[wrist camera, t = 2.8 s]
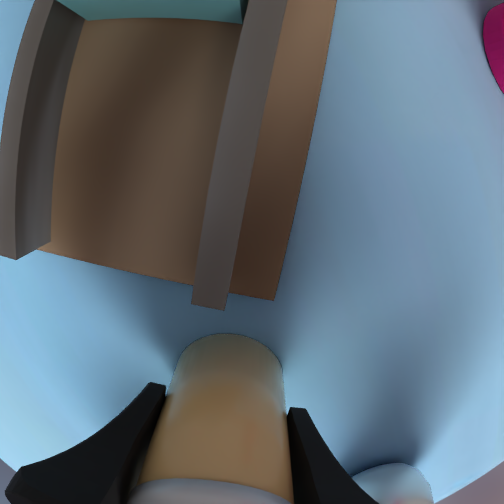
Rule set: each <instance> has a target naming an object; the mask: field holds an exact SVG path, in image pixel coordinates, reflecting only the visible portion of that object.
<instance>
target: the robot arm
mask: <svg viewBox="0 0 504 504" xmlns="http://www.w3.org/2000/svg"><path fill="white" fill-rule="evenodd" d="M165 393H166V386H165V385H161V384H157V383H153V382H150V383H148V384H147V386H146V387H145V388H144V389H143V390H142V391H141V393H140V394H139V395H138V396H137V397H136V398H135V399H134V400H133V401H132V402H131V403H130V404H129V405H128V406H127V407H126V408H125V409H124V410H123V411H122V412H121V413H120V414H119V415H118V416H117V417H115V418H114V419H113V420H112V421H111V422H109V423H108V424H107V425H106V426H104V427H103V428H102V429H101V430H99V431H98V432H96V433H95V434H94V435H92V436H91V437H89V438H88V439H86V440H84V441H83V442H81V443H79V444H77V445H76V446H74V447H72V448H70V449H68V450H66V451H64V452H62V453H59V454H57V455H55V456H53V457H50V458H48V459H45V460H42V461H39V462H36V463H33V464H29V465H26V466H22V467H21V468H20V469H19V470H18V471H17V473H16V474H15V475H14V477H13V478H12V480H11V481H10V483H9V485H8V486H7V488H6V490H5V495H6V497H7V499H8V500H9V502H10V503H11V504H127V501H128V498H129V495H130V492H131V491H132V489H133V488H135V487H136V484H137V481H138V478H139V475H140V472H141V469H142V466H143V462H144V459H145V456H146V453H147V450H148V447H149V444H150V441H151V438H152V435H153V432H154V429H155V426H156V423H157V420H158V417H159V414H160V412H161V409H162V406H163V403H164V400H165ZM287 425H288V436H289V447H290V459H291V471H292V483H293V495H294V504H379V503H378V502H377V501H375V500H374V499H373V498H372V497H371V496H370V495H368V494H367V493H366V492H365V491H364V490H363V489H362V488H361V487H360V486H359V485H358V484H357V483H356V482H355V481H354V480H353V479H352V478H351V477H350V476H349V475H348V474H347V472H346V471H345V470H344V469H343V468H342V466H341V465H340V464H339V462H338V461H337V460H336V458H335V457H334V455H333V454H332V453H331V451H330V450H329V448H328V446H327V445H326V443H325V442H324V440H323V439H322V437H321V435H320V434H319V432H318V430H317V428H316V427H315V425H314V423H313V421H312V419H311V417H310V416H309V414H308V412H307V410H306V409H305V408H295V407H290V409H289V412H288V414H287Z"/></svg>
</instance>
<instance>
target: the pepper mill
mask: <svg viewBox="0 0 504 504" xmlns="http://www.w3.org/2000/svg"><path fill="white" fill-rule="evenodd" d="M483 38H484V45H485V52H486V55H487V58H488V61H489V64H490V67H491V71H492V73H493V75H494V77H495V79H496V81H497V83H498V85H499V87H500V89H501V90H502V92H503V93H504V3H502V4H499V5H497V6H495V7H493V8H492V9H491V10H490V11H489V12H488V13H487V15H486V17H485V20H484V27H483Z"/></svg>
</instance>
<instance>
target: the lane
mask: <svg viewBox="0 0 504 504" xmlns="http://www.w3.org/2000/svg"><path fill="white" fill-rule="evenodd" d="M336 2H337V0H248V5H247V9H246V13H245V16H244V20H243V24H238V23H230V22H221V21H211V20H199V19H183V18H118V19H102V20H90V21H88V20H86V19H85V18H83V17H81V16H80V15H78V14H77V13H75V12H74V11H72V10H71V9H69V8H68V7H66V6H64V5H63V4H61V3H60V2H58V1H57V0H35V1H34V4H33V7H32V9H31V12H30V15H29V18H28V21H27V24H26V27H25V30H24V33H23V36H22V39H21V43H20V46H19V50H18V53H17V57H16V61H15V65H14V69H13V73H12V77H11V82H10V86H9V91H8V96H7V102H6V107H5V113H4V120H3V127H2V135H1V143H0V255H1V256H4V257H8V258H11V259H14V260H17V259H19V258H21V257H23V256H25V255H27V254H28V253H30V252H32V251H34V250H36V249H37V250H41V251H45V252H49V253H53V254H57V255H61V256H65V257H69V258H73V259H77V260H81V261H85V262H89V263H93V264H98V265H102V266H106V267H110V268H115V269H119V270H123V271H128V272H132V273H137V274H141V275H146V276H150V277H155V278H160V279H164V280H169V281H174V282H179V283H183V284H188V285H193V294H192V301H191V304H193V305H198V306H203V307H208V308H213V309H218V310H223V311H224V310H225V306H226V301H227V296H228V292H229V293H234V294H239V295H245V296H250V297H255V298H261V299H266V300H272V301H274V299H275V295H276V291H277V286H278V282H279V278H280V274H281V270H282V266H283V262H284V257H285V253H286V249H287V245H288V240H289V236H290V232H291V227H292V223H293V219H294V214H295V210H296V205H297V201H298V196H299V192H300V187H301V183H302V178H303V173H304V169H305V164H306V159H307V155H308V150H309V145H310V140H311V136H312V131H313V126H314V121H315V116H316V111H317V106H318V101H319V96H320V91H321V85H322V80H323V75H324V70H325V64H326V59H327V53H328V48H329V42H330V37H331V31H332V25H333V19H334V14H335V8H336Z"/></svg>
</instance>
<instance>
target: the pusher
mask: <svg viewBox="0 0 504 504" xmlns="http://www.w3.org/2000/svg"><path fill="white" fill-rule="evenodd" d="M57 1H58V2H60V3H61V4H63V5H64V6H66V7H68V8H69V9H71V10H72V11H74V12H75V13H77V14H78V15H80V16H81V17H83V18H85V19H86V20H88V21H90V20H102V19H118V18H183V19H199V20H211V21H221V22H230V23H238V24H243V20H244V16H245V13H246V9H247V5H248V0H57Z"/></svg>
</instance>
